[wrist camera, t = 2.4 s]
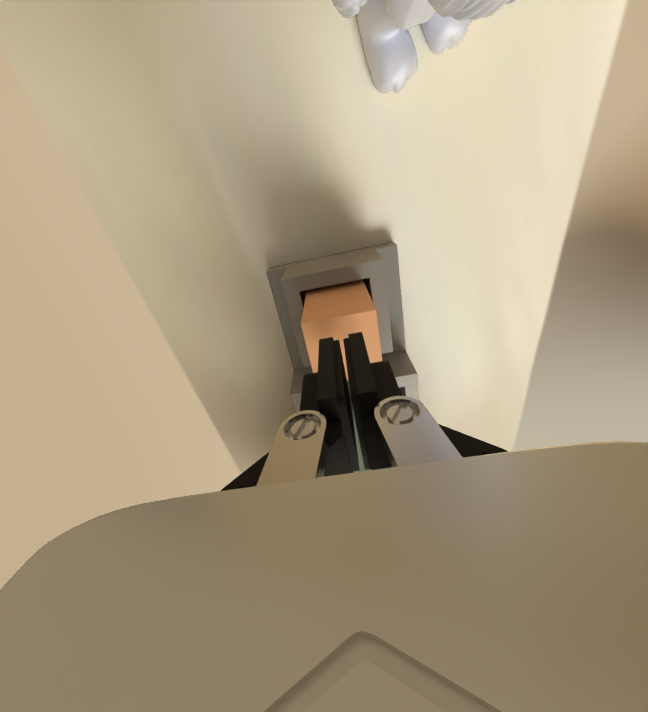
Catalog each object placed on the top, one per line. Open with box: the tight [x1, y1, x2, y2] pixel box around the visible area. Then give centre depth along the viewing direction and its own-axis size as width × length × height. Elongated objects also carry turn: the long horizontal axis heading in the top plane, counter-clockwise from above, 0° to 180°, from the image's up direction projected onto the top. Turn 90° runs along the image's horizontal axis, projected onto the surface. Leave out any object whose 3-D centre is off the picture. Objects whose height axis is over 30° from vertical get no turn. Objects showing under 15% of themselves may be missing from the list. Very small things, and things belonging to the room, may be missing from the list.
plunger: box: [301, 280, 382, 381], centre depth 16 cm, size 3×3×5 cm
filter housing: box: [266, 242, 419, 413], centre depth 21 cm, size 15×8×4 cm, turn 11°
